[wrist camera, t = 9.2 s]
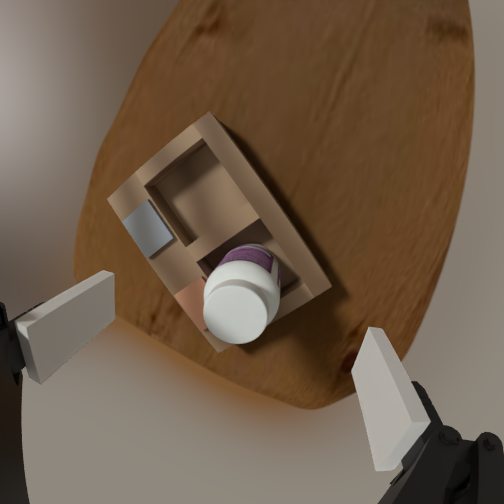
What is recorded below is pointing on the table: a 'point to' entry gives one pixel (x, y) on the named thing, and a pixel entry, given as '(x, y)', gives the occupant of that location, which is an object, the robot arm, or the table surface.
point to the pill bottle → (242, 294)
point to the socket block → (211, 220)
